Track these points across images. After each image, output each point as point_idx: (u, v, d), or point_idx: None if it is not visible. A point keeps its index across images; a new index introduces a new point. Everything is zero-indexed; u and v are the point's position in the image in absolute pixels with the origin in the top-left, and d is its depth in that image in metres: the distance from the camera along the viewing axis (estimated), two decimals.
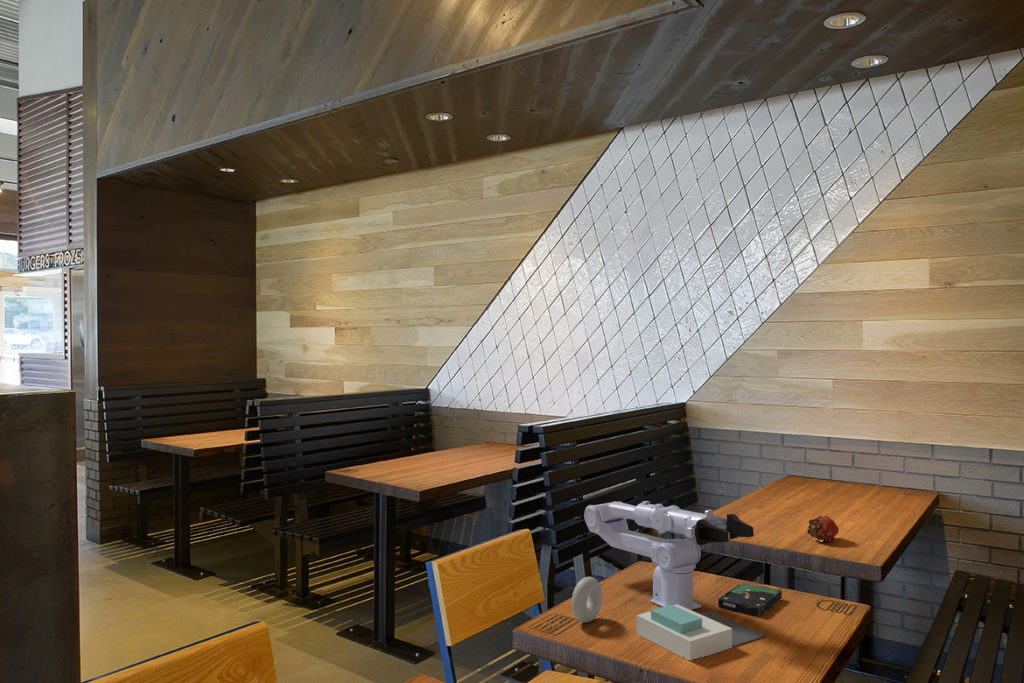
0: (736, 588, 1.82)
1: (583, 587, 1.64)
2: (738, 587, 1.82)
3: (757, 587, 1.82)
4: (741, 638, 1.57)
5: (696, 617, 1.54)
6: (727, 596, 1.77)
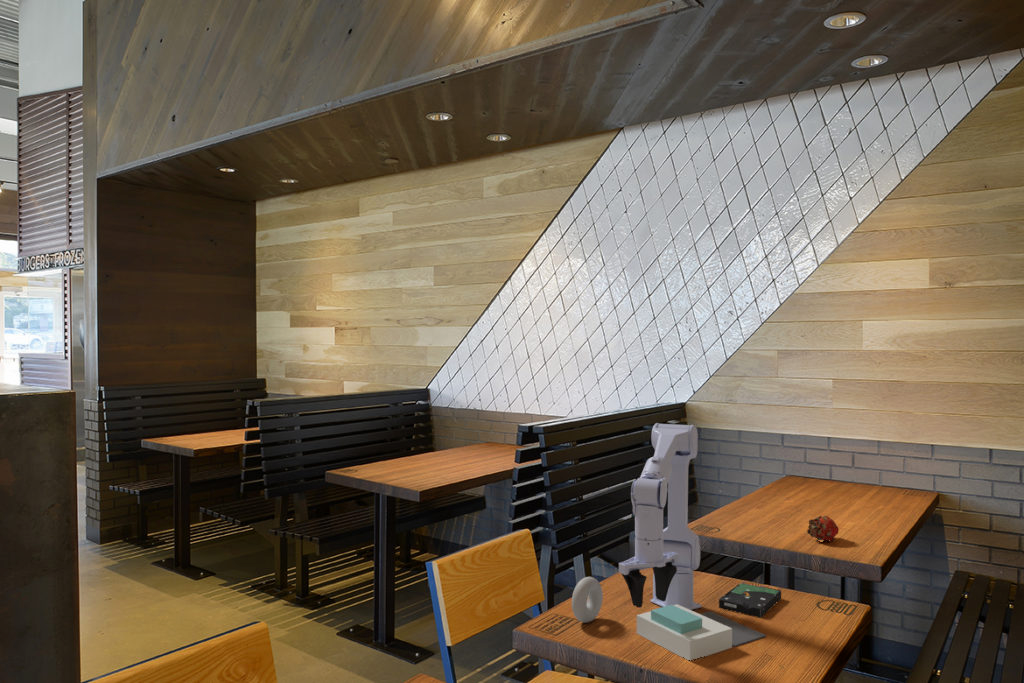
0: (736, 588, 1.82)
1: (583, 587, 1.64)
2: (737, 587, 1.82)
3: (756, 587, 1.83)
4: (741, 638, 1.57)
5: (696, 617, 1.54)
6: (727, 596, 1.77)
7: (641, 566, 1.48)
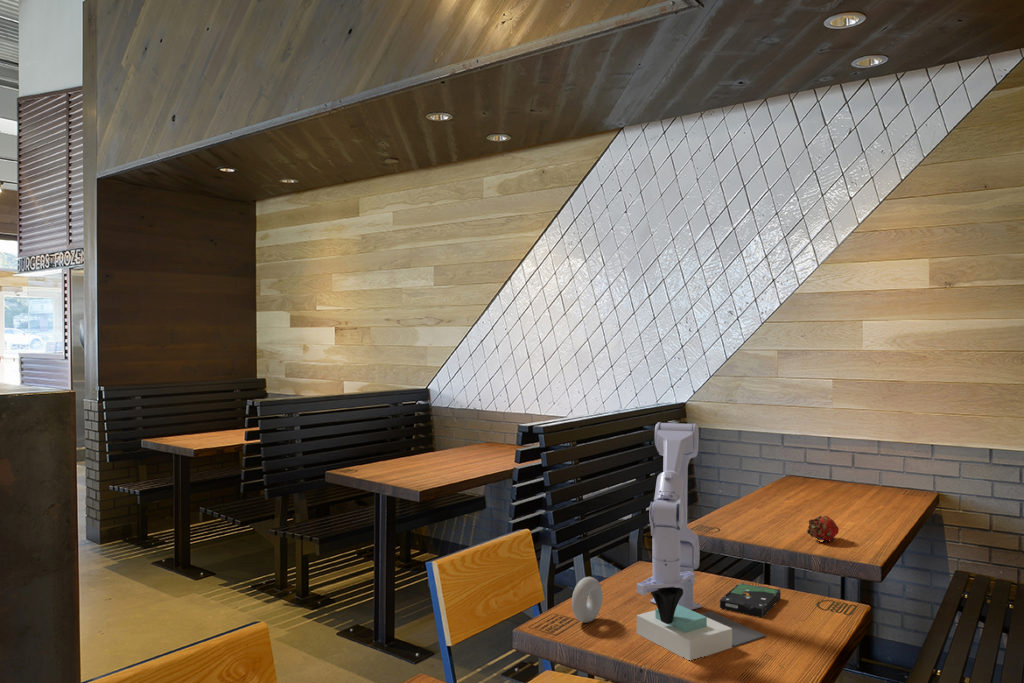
0: (735, 588, 1.82)
1: (583, 587, 1.64)
2: (737, 588, 1.82)
3: (756, 587, 1.83)
4: (741, 638, 1.57)
5: (700, 616, 1.54)
6: (728, 597, 1.77)
7: (659, 586, 1.50)
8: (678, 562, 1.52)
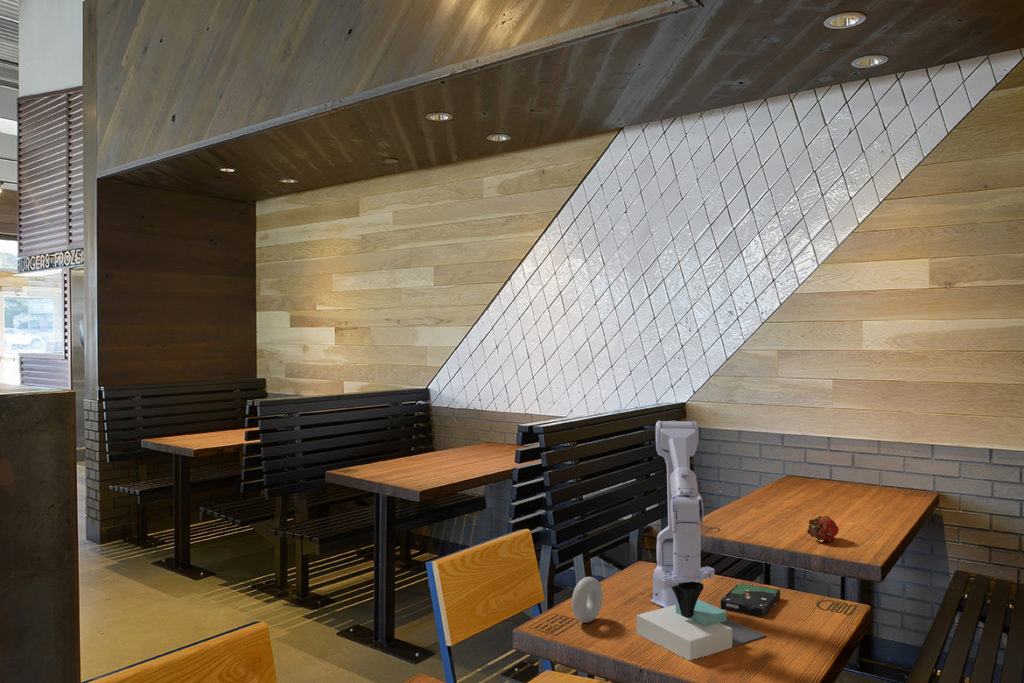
0: (735, 588, 1.82)
1: (583, 587, 1.64)
2: (737, 588, 1.82)
3: (755, 587, 1.83)
4: (741, 638, 1.57)
5: (720, 610, 1.57)
6: (728, 597, 1.77)
7: (680, 581, 1.53)
8: (698, 557, 1.55)
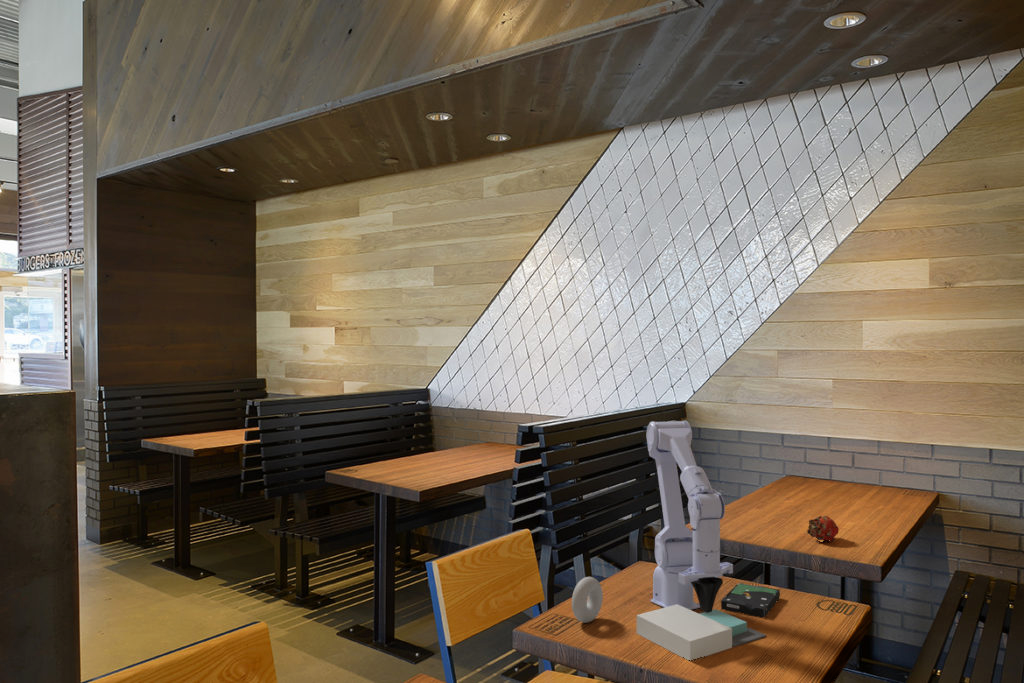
0: (735, 589, 1.82)
1: (583, 587, 1.64)
2: (736, 588, 1.82)
3: (755, 587, 1.83)
4: (741, 638, 1.57)
5: None
6: (729, 597, 1.76)
7: (700, 576, 1.56)
8: (718, 553, 1.58)
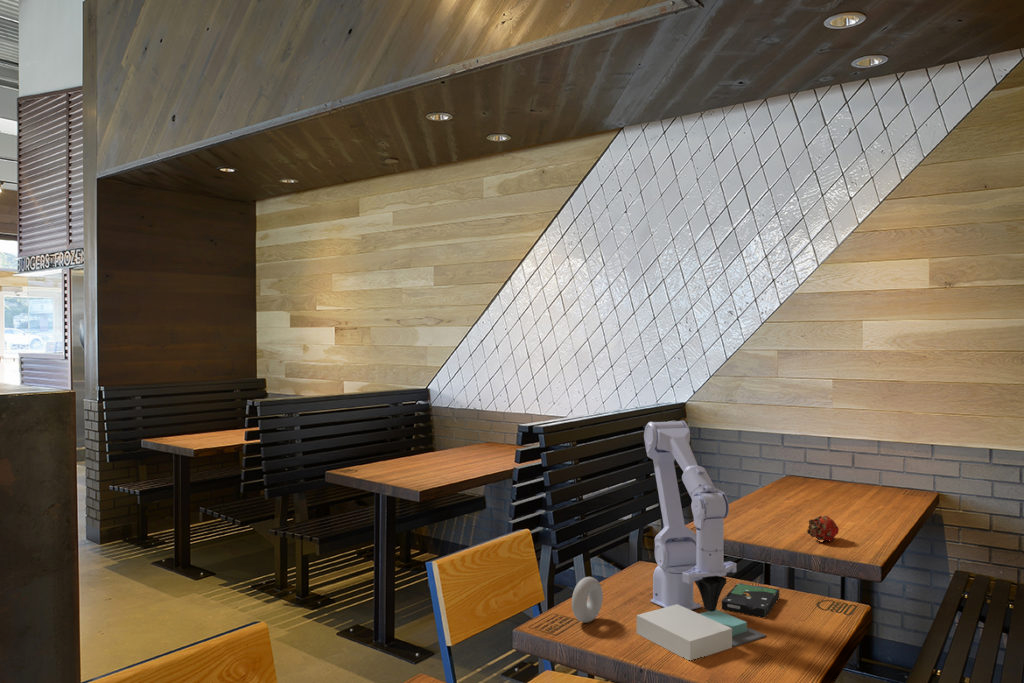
0: (735, 589, 1.81)
1: (583, 587, 1.64)
2: (736, 588, 1.82)
3: (754, 587, 1.83)
4: (741, 638, 1.57)
5: None
6: (729, 597, 1.76)
7: (704, 575, 1.57)
8: (722, 552, 1.59)
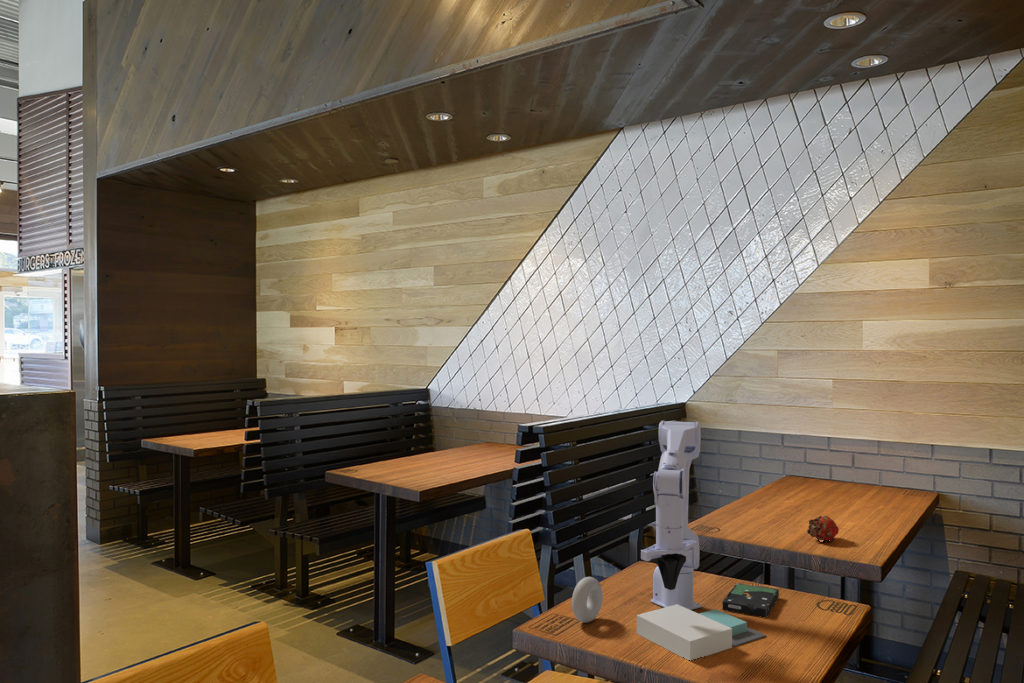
0: (734, 589, 1.81)
1: (583, 587, 1.64)
2: (736, 588, 1.82)
3: (754, 587, 1.83)
4: (741, 638, 1.57)
5: None
6: (729, 598, 1.76)
7: (662, 553, 1.55)
8: (681, 529, 1.56)
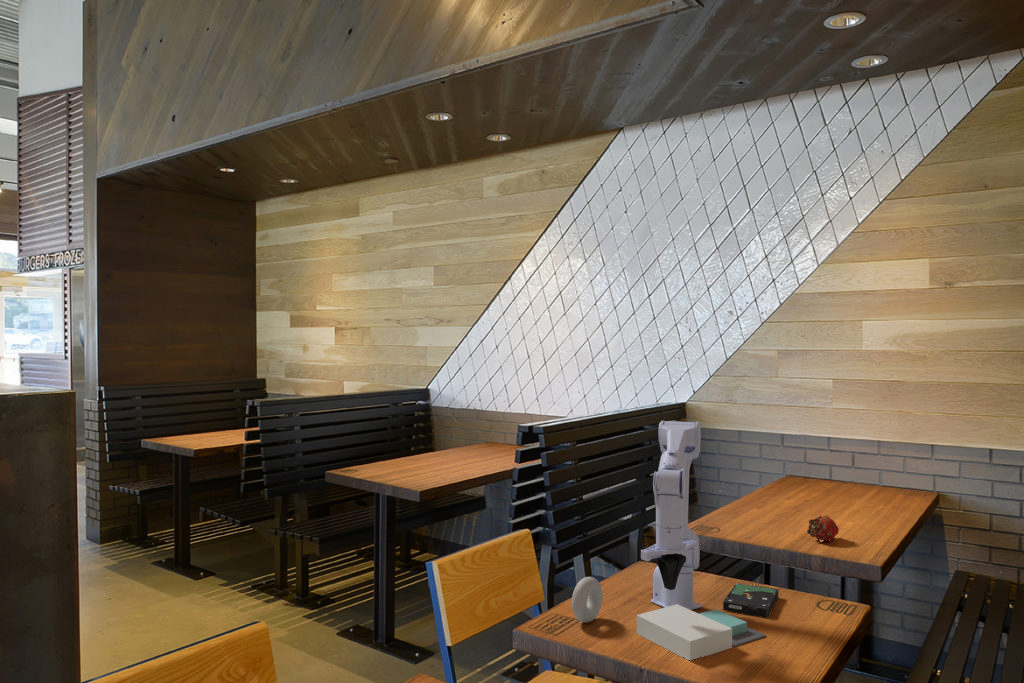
0: (734, 589, 1.81)
1: (583, 587, 1.64)
2: (736, 588, 1.82)
3: (753, 587, 1.83)
4: (741, 638, 1.57)
5: None
6: (730, 598, 1.76)
7: (662, 553, 1.55)
8: (681, 529, 1.56)
